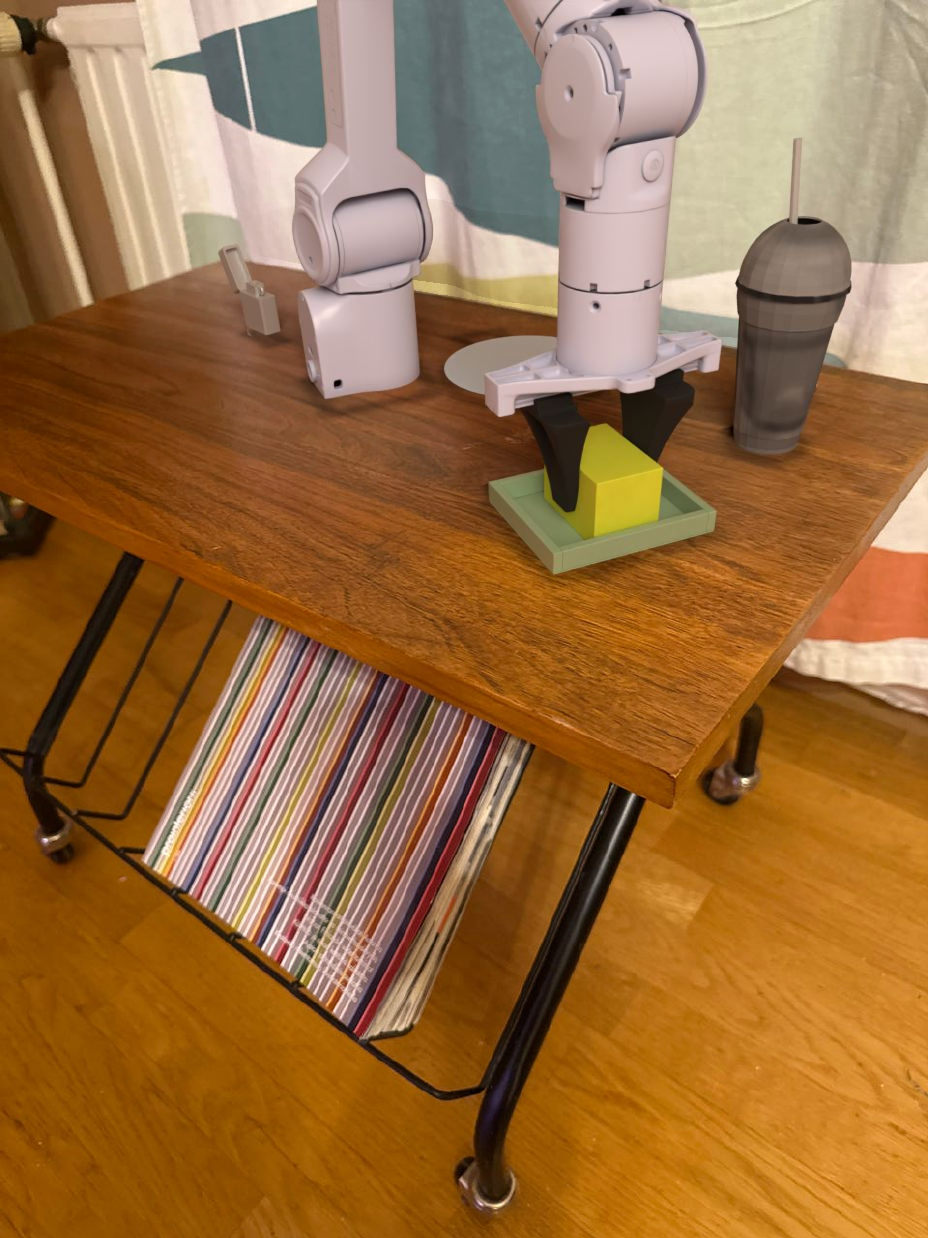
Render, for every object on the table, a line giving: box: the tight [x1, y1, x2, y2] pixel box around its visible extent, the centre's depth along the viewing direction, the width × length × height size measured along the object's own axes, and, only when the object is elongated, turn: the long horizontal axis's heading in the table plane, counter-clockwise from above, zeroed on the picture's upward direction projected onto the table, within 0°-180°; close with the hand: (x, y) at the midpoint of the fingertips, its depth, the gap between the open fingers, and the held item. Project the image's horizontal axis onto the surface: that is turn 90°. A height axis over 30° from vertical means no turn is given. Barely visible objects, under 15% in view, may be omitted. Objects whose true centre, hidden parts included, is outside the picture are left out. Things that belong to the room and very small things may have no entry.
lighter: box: [217, 243, 282, 338], centre depth 87 cm, size 7×2×8 cm, turn 40°
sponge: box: [543, 422, 664, 540], centre depth 57 cm, size 4×7×4 cm, turn 22°
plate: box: [443, 335, 557, 396], centre depth 78 cm, size 14×14×1 cm
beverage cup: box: [732, 137, 853, 455], centre depth 60 cm, size 7×7×20 cm
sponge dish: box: [488, 468, 718, 575], centre depth 58 cm, size 11×10×2 cm
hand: (598, 496), depth 57 cm, fingers closed on sponge, 4 cm apart
